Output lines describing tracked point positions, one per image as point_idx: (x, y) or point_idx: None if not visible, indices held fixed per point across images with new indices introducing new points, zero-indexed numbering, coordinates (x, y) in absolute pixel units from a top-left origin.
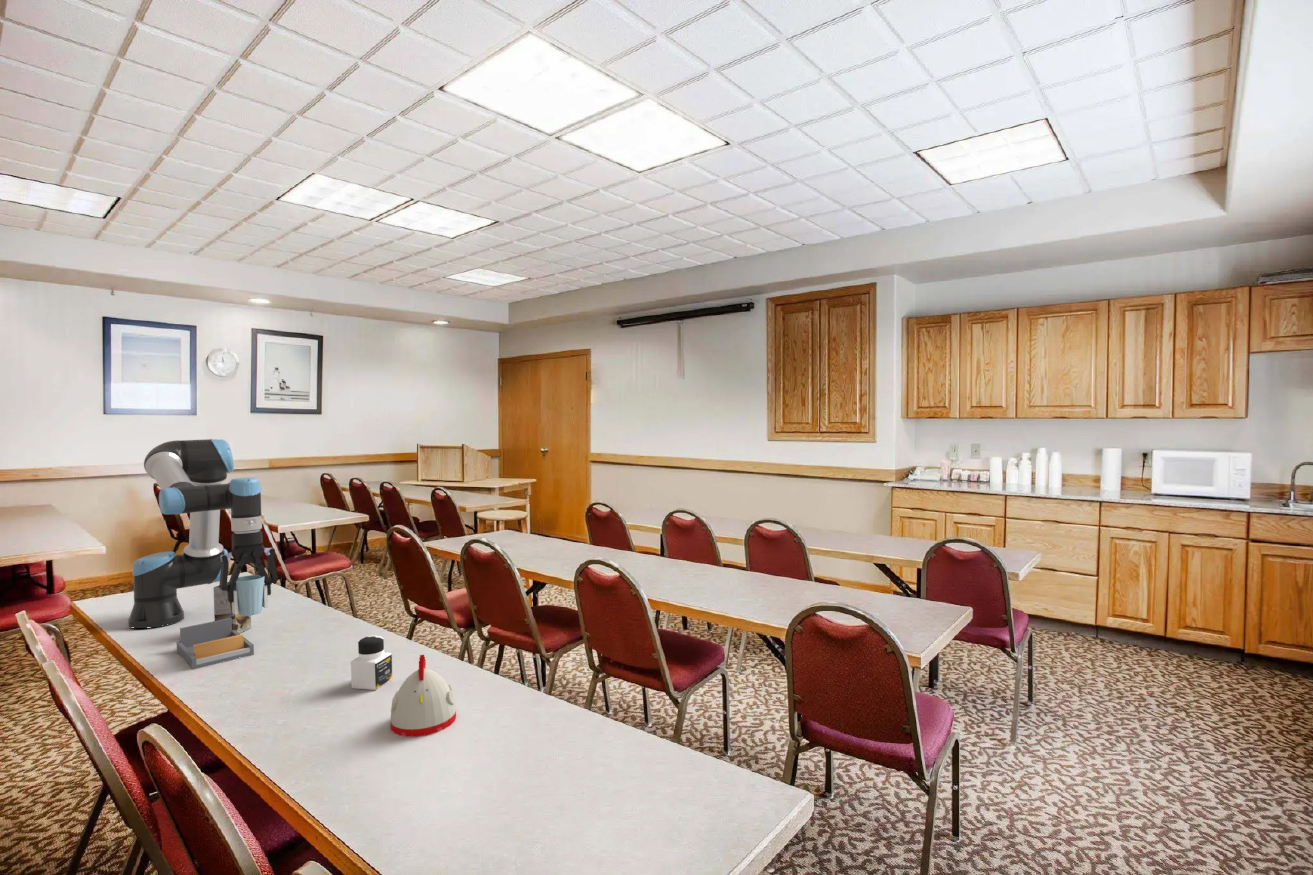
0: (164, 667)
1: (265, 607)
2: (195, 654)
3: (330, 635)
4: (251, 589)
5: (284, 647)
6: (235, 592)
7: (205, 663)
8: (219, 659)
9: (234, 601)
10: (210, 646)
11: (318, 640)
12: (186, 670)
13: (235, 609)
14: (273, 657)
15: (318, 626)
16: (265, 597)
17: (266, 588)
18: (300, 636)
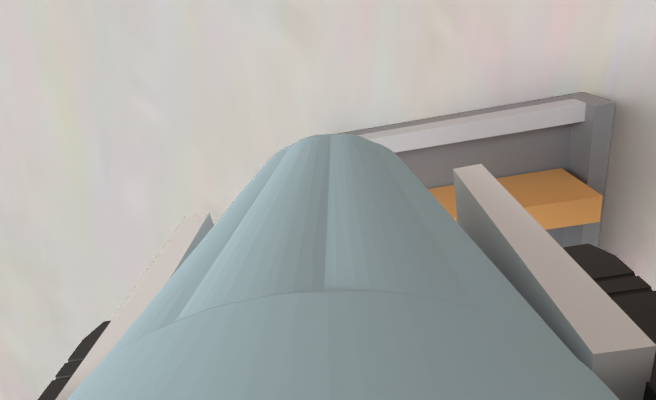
0: (649, 202)
1: (204, 216)
2: (573, 178)
3: (5, 201)
4: (320, 257)
5: (197, 155)
6: (611, 326)
7: (533, 103)
8: (474, 114)
9: (544, 232)
10: (517, 197)
11: (50, 160)
12: (602, 97)
13: (491, 185)
14: (245, 23)
15: (77, 346)
16: (161, 279)
17: (80, 380)
18: (137, 266)
